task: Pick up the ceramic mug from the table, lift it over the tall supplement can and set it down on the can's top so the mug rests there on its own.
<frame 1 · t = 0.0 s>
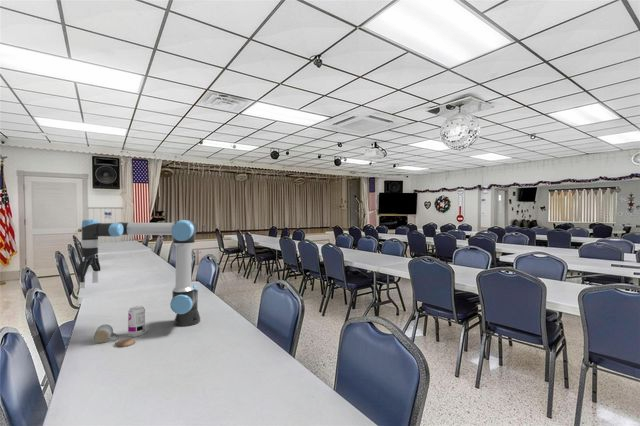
hand: (89, 285, 176), 28 cm above the table, tool pointing down, fingers open, 13 cm apart
supplement can: (136, 334, 178), on the table
ceramic mug: (106, 340, 170), on the table
walnut coaster: (125, 343, 165), on the table
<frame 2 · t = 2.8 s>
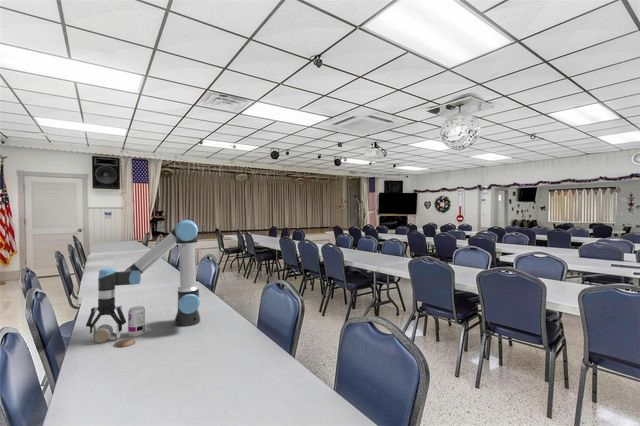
hand: (106, 338, 170), 1 cm above the table, tool pointing down, fingers closed on ceramic mug, 11 cm apart
ceramic mug: (106, 340, 170), on the table, touching gripper
everything else where it was.
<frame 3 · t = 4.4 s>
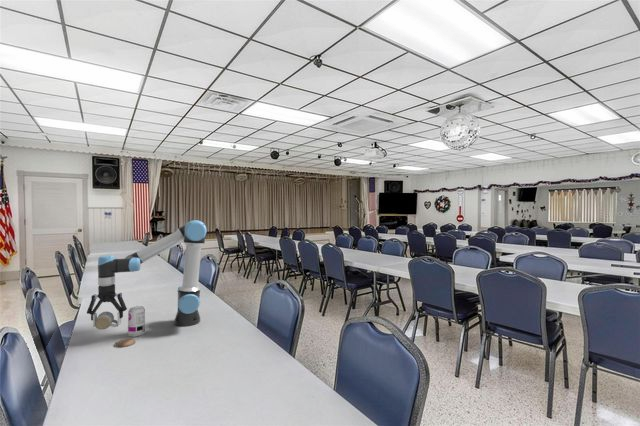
hand: (107, 325, 170), 8 cm above the table, tool pointing down, fingers closed on ceramic mug, 11 cm apart
ceramic mug: (107, 327, 170), point 7 cm above the table, touching gripper
everything else where it was.
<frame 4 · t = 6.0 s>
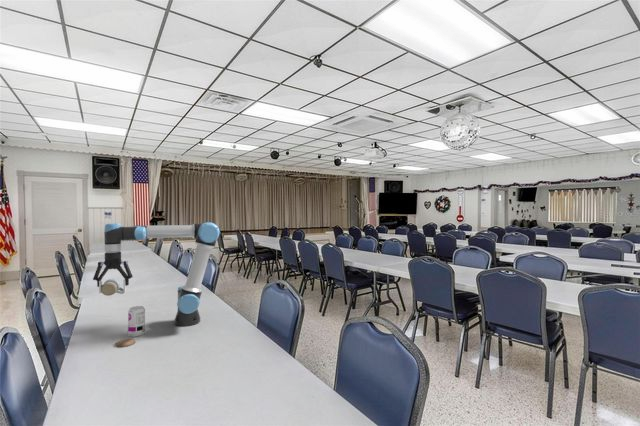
hand: (113, 292, 172), 25 cm above the table, tool pointing down, fingers closed on ceramic mug, 11 cm apart
ceramic mug: (113, 294, 172), point 24 cm above the table, touching gripper
everything else where it was.
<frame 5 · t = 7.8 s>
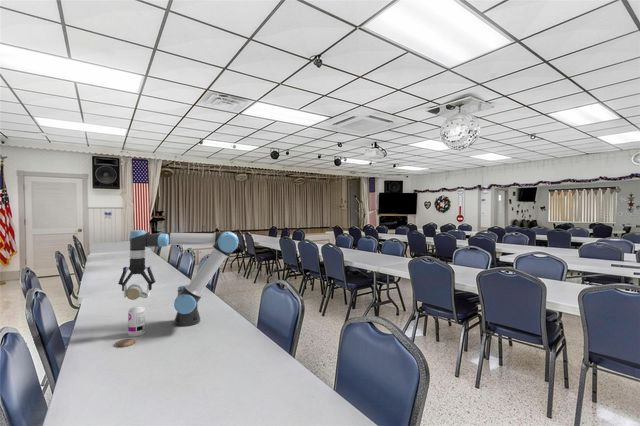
hand: (136, 296, 178), 21 cm above the table, tool pointing down, fingers closed on ceramic mug, 11 cm apart
ceramic mug: (137, 298, 178), point 20 cm above the table, touching gripper
everything else where it was.
when the fingers open (17 cm above the table, at t = 9.3 s): ceramic mug drops 1 cm, resting on supplement can.
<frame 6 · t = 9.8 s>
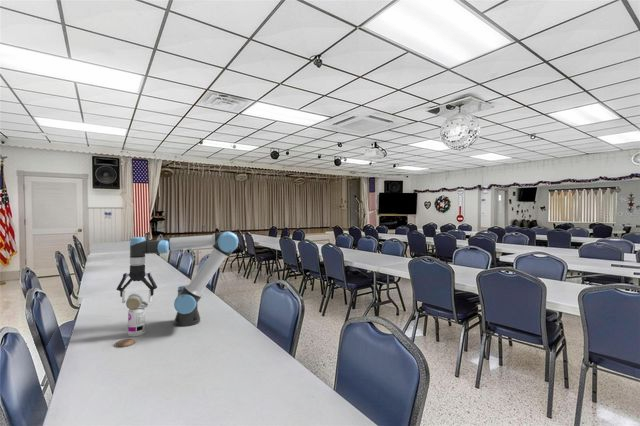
hand: (137, 302, 178), 18 cm above the table, tool pointing down, fingers open, 13 cm apart
supplement can: (136, 334, 178), on the table, touching ceramic mug
ceramic mug: (137, 308, 178), point 15 cm above the table, touching supplement can
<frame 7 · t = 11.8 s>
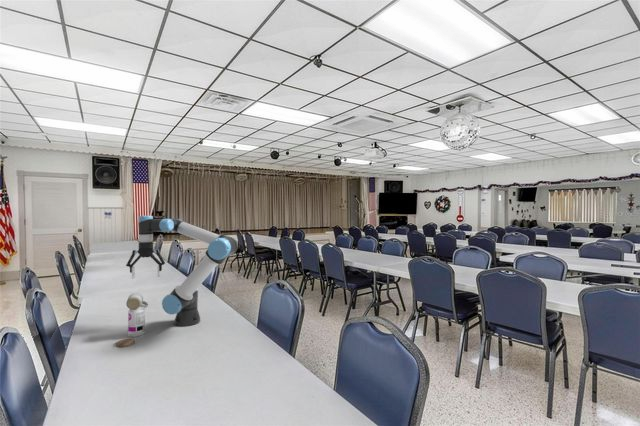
hand: (146, 277, 187), 30 cm above the table, tool pointing down, fingers open, 13 cm apart
nothing on the table moved.
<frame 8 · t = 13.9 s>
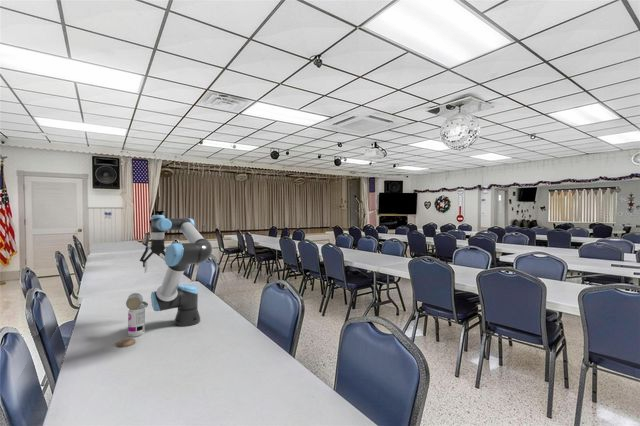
hand: (157, 272, 203), 31 cm above the table, tool pointing down, fingers open, 13 cm apart
nothing on the table moved.
at the end: ceramic mug 0.2 cm off-centre on the supplement can, point 15.0 cm above the supplement can's base; ceramic mug tilted 0°; supplement can tilted 0° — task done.
